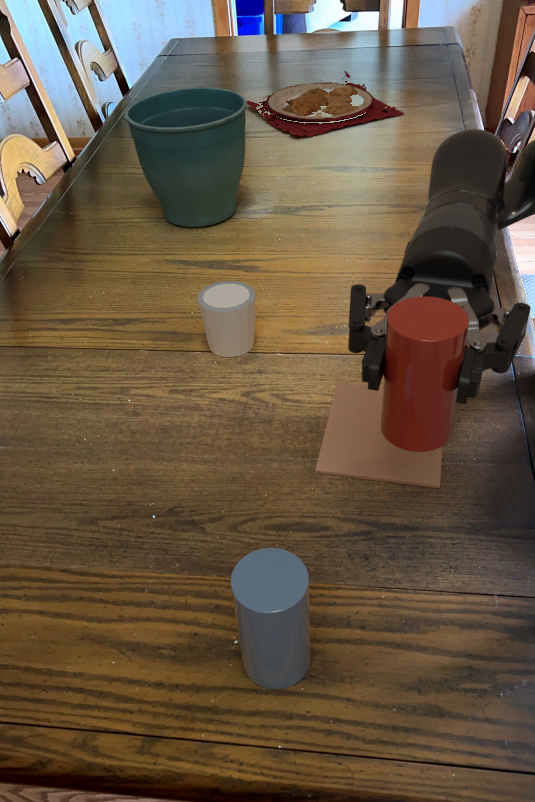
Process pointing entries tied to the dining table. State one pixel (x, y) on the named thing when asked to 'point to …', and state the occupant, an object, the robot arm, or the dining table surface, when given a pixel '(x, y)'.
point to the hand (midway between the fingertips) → (416, 386)
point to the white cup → (228, 317)
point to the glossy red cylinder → (422, 372)
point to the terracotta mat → (370, 443)
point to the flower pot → (191, 151)
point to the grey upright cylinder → (273, 616)
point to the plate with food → (313, 100)
